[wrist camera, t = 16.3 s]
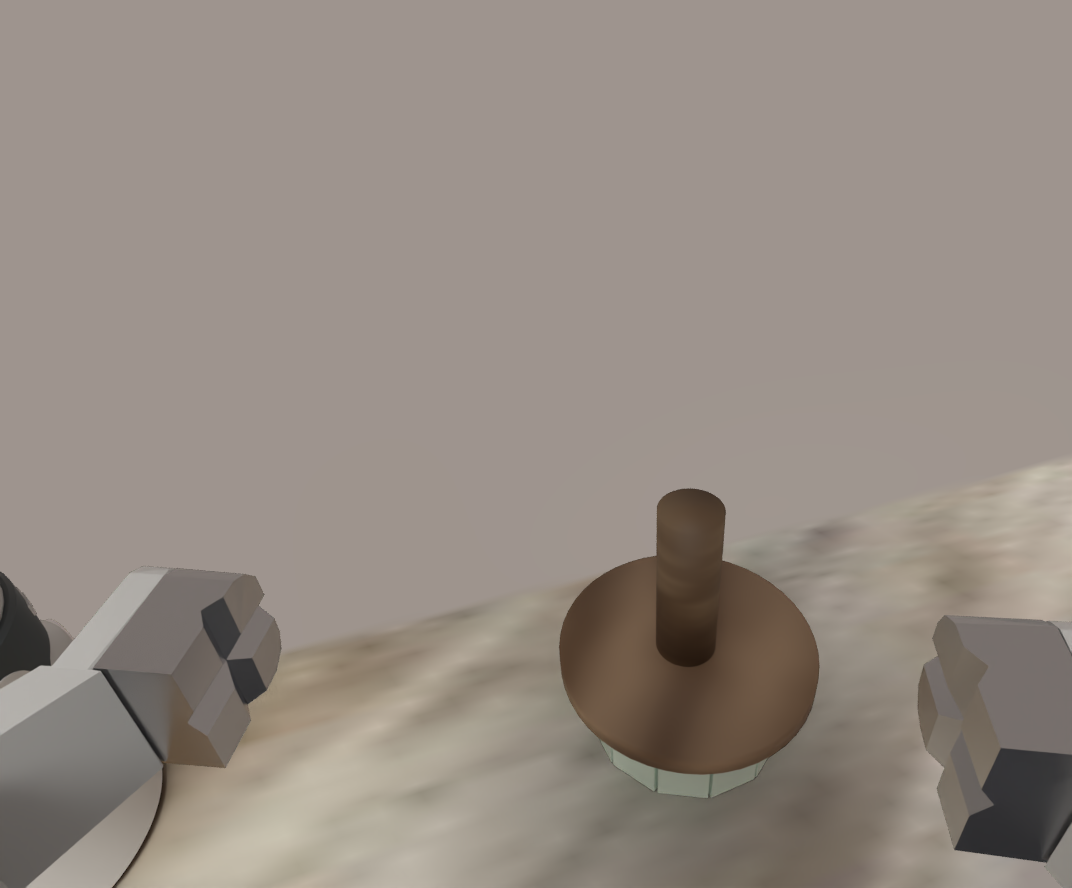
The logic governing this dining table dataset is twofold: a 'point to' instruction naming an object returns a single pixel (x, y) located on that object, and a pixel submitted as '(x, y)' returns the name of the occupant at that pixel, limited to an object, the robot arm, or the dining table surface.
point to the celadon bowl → (682, 777)
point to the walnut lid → (689, 652)
